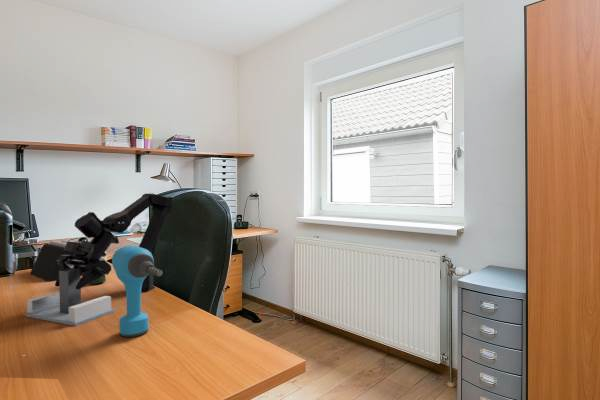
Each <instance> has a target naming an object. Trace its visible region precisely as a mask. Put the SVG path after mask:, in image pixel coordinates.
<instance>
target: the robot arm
mask: <svg viewBox="0 0 600 400" xmlns="http://www.w3.org/2000/svg"><path fill="white" fill-rule="evenodd" d="M172 198H173V196H162V195H158V194H156V193H149V192H148V193H143V194H142V195H141V197H139V198H137V199H136V200H135V201H134V202H131V204H129V205H128V206H127V207H125V208H124V209H122V210H121V211H118V212H114V213H112V214H109V215H108V216H105V217H104V218H103V219H100V218H99V217H98V216H97V214H96V213H95V212H93V211H88V213H87V214H84V215H82V216H81V217H79V218H78V219H76V221H75V223H74V227H75V228H76V229H77V230H78V231H80V232H81V233H82V234H83V235H84V236H85V238H88V239H91V240H90V241H88V240H82V241H80V242H78V241H74V242H69V241H70V240H68V242H67V244H66V246H65V249H64V252H70V253H73V254H74V255H73V256H74V257H76V258H78V259H77V260H76V259H75V258H74V257H73V256H71V255H60V256H59V257H58V259H57V260H56V261H57V262H58V264H59V265H60V270H65V269H70V268H76V269H79V268H80V267H86V271H85V273H84V274H83V276H81V279H80V281H79V282H78V284H77V286H76V287H75V288H76V289H77V290H79V289H80V288H81V289H82V288H84V287H86V286H87V285H90V284H89V283H91V282H92V281H94V280H96V279H98V278H100V277H102V276H104V274H105V276H108V275H109V274H110V272H111V271H112V265H111V264H110V263H109V262H108V261H107V260H106V261H105V260H104V259H103V258H101V257H105V256H106V257H107V250H108V249H109V247H110V246H111V245H112V244H116V245H117V244H119V243H120V241H119V238H118V237H119V236H118V235H114V234H113V233H117V234H122V233H124V232H125V231H126V230H127V229H128V228H129V227H130V226H131V223H132V222H133V220H134V219H135V218H136V217H137V216H139V215H141V213H143V212H144V211H145V210H146V209H148V208H149V207H151V212H152V216H151V218H150V219H149V222H148V225H147V227H146V229H145V231H144V234H143V236H142V239H141V241H140V244H139V246H138V247H141V248H144V249H146V250H148V251H149V252H150V253H151V254H152V255H153V249H154V246H155V244H156V241H157V239H158V237H159V234H160V232H161V229H162V227H163V224H164V222H165V220H166V218H168V217H169V216H170V215H172V213H171V208H172ZM105 251H106V253H105ZM154 266H155V268H157V269H158V266H156V265H155V264H154ZM54 285H55V287H56V288H59V275H58V277H57V280H56V281H55V283H54ZM153 287H154V288H156V286H155V285H154V275H153V274H149V275H148V276H147V277H146V278H145V279H144V281H143V283H142V288H141V292H149V291H150V289H151V290H153V289H154V288H153ZM152 288H153V289H152Z"/></svg>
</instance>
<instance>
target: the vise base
mask: <svg viewBox="0 0 600 400" xmlns="http://www.w3.org/2000/svg"><path fill="white" fill-rule="evenodd" d="M115 312H116V309H115V308H112V296H109V295H104V296H99V297H97V298H94V299H90V300H87V301H84V302H81V304H77V305H74V306H71V307H69V314H65V313H60V306H57V307H53V308H50V309H47V310H44V311H40V312H37V313H34V314H31V313H27V312H25V317H28V318H33V319H37V320H38V319H39V320H42V321H47V322H54V323H58V324H63V325H68V326H74V327H78V326H80V325H82V324H85V323H88V322H91V321H93V320H95V319H98V318H101V317H103V316H106V315H108V314H113V313H115Z"/></svg>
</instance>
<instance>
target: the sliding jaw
mask: <svg viewBox="0 0 600 400" xmlns="http://www.w3.org/2000/svg"><path fill="white" fill-rule="evenodd" d="M57 306H60V292H59V291H56V292H55V291H54V292H51V293H48V294H44V295H41V296H37V297H33V298H30V299H26V307H27V308H26V309H27V310H26V311H27V312H26V313H31V314H34V313H37V312H40V311H44V310H47V309H50V308H53V307H57Z"/></svg>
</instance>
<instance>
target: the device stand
mask: <svg viewBox="0 0 600 400" xmlns="http://www.w3.org/2000/svg"><path fill="white" fill-rule="evenodd" d="M68 241H69V242H75V240H74V241H73V240H67V239H61V240H60V241H56V240H50V241H49V243H44V244H43V245H42V246H41V249H40V251H39V253H38V255H37V258H36V260H35V262H34V263H33V266H32V268H31V270H30V272H29V274H30V275H31V276H33V275H34V277H36V278H39V279H41V278H42V280H45V281H47V282H50V283H51V282H56V280H57V277H58V275H59V271H60V265H59V264H58V262H57V261H56V260H57V259H58V257H59V256H60V255H71V256H73V255H74V254H73V253H70V252H64V249H65V246H66V244H67V242H68ZM73 257H74V256H73ZM74 258H75V259H76V260H77V259H78V258H76V257H74ZM79 269H80V271H81V277H82V276H83V274H84V273H85V271H86V267H80V268H79Z"/></svg>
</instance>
